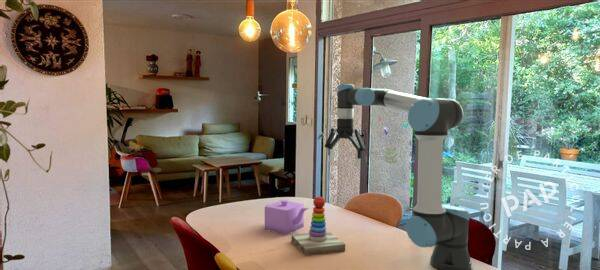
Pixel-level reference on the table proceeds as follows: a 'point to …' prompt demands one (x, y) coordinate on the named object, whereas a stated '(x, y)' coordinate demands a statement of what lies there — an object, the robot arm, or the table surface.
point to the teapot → (284, 216)
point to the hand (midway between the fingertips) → (344, 164)
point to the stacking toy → (318, 221)
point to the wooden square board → (318, 244)
